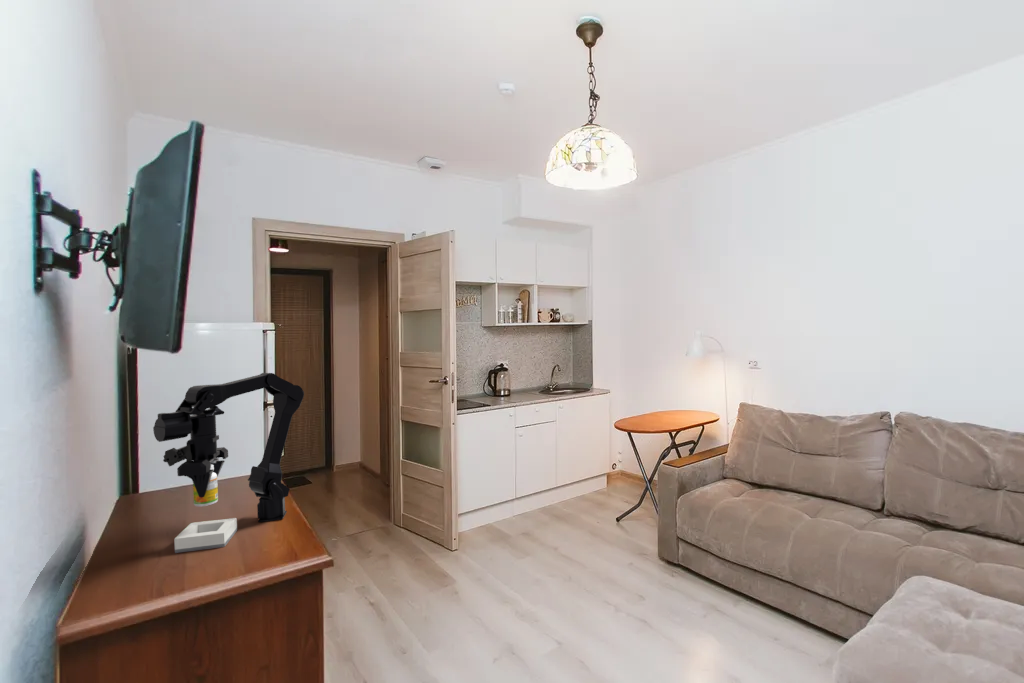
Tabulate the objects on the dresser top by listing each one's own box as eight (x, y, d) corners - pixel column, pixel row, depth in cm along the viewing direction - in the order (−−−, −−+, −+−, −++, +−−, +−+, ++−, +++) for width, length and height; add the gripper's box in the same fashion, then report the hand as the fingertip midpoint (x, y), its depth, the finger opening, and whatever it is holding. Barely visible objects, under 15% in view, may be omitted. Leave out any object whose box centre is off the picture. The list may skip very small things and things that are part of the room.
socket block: (237, 530, 134) (236, 517, 134) (224, 546, 124) (224, 532, 124) (191, 535, 131) (191, 522, 131) (174, 553, 121) (174, 538, 121)
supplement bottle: (189, 505, 126) (187, 467, 126) (210, 498, 131) (209, 462, 131) (201, 508, 124) (200, 469, 124) (222, 501, 129) (221, 464, 128)
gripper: (182, 430, 134) (184, 486, 134) (151, 444, 116) (154, 509, 116) (227, 426, 137) (229, 482, 137) (204, 440, 119) (206, 503, 119)
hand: (205, 493), depth 127 cm, fingers closed on supplement bottle, 5 cm apart
